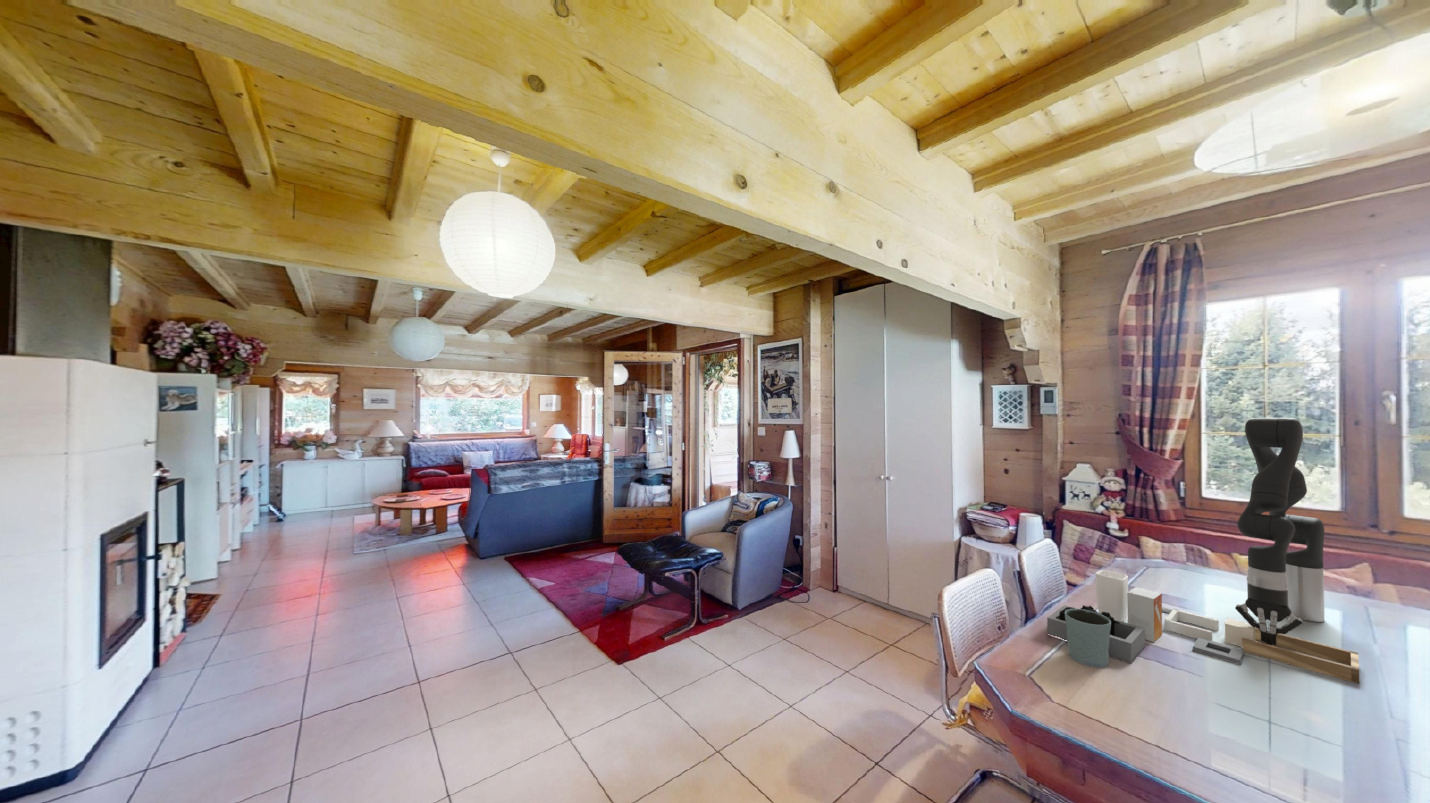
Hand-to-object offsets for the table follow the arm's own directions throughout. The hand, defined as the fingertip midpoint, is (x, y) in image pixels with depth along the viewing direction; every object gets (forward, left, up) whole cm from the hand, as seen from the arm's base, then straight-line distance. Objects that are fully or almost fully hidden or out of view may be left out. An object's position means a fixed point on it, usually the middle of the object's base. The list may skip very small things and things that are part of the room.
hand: (1268, 644), depth 133 cm
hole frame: (+13, -9, -2) cm, 16 cm away
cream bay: (0, -16, -2) cm, 16 cm away
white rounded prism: (+11, -33, -2) cm, 34 cm away
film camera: (+34, -32, -2) cm, 47 cm away
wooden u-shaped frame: (0, +4, -2) cm, 5 cm away
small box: (+16, -24, -2) cm, 28 cm away
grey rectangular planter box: (+33, -32, -2) cm, 45 cm away
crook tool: (-10, -19, -2) cm, 21 cm away
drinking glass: (+47, -30, -2) cm, 55 cm away
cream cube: (0, -5, -2) cm, 6 cm away
